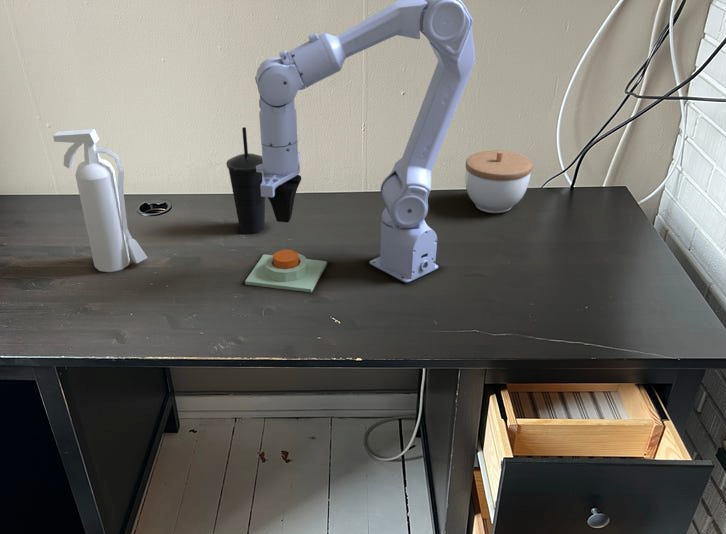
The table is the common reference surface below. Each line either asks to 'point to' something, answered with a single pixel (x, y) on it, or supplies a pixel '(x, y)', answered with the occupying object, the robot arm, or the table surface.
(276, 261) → the button
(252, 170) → the drinking cup
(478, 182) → the lidded bowl
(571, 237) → the table surface
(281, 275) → the button block
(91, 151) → the fire extinguisher
